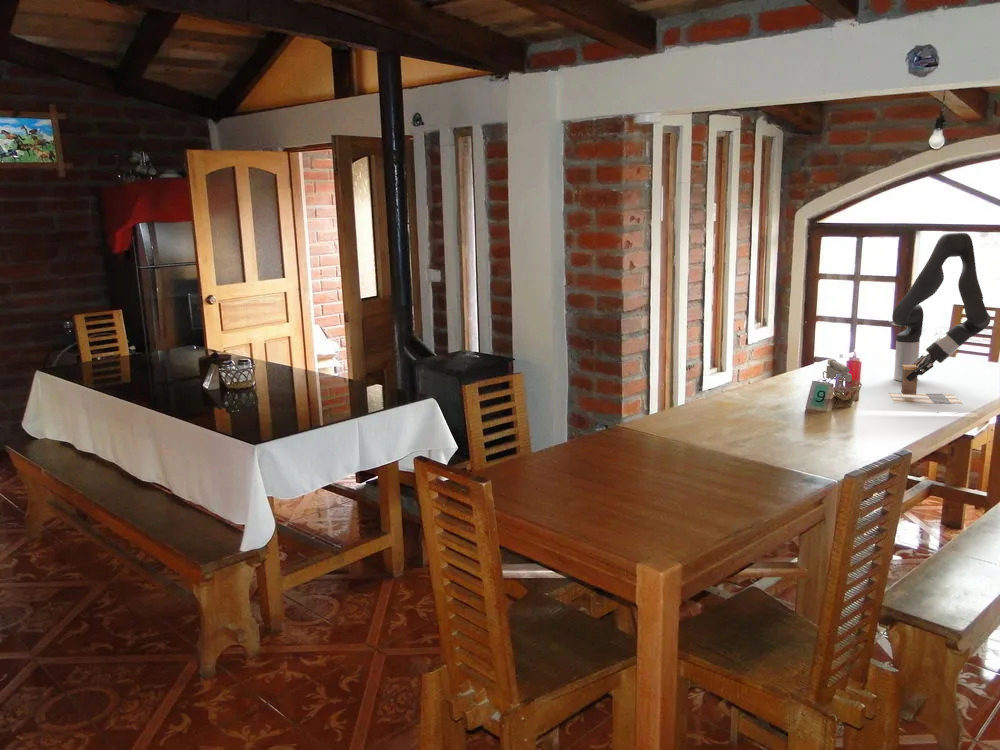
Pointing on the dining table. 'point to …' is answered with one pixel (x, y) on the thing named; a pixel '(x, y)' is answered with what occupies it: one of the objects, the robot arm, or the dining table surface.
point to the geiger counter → (837, 370)
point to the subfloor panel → (925, 398)
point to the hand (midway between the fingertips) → (907, 378)
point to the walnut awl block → (907, 385)
